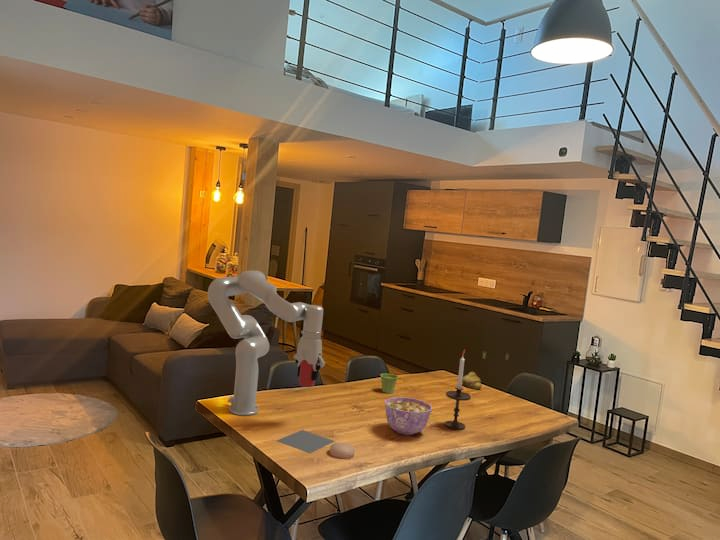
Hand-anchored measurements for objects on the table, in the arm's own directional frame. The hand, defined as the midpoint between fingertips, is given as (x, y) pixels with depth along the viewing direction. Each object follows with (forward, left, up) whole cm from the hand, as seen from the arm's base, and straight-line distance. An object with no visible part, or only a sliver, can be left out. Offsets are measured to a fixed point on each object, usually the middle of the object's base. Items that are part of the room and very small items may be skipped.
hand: (307, 377), depth 221 cm
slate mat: (+13, -15, -19) cm, 28 cm away
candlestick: (+48, +48, -20) cm, 71 cm away
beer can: (0, 0, -3) cm, 3 cm away
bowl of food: (+35, +25, -20) cm, 47 cm away
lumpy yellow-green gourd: (+29, +121, -20) cm, 126 cm away
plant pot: (+1, +71, -20) cm, 74 cm away
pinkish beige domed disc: (+29, -14, -20) cm, 38 cm away
